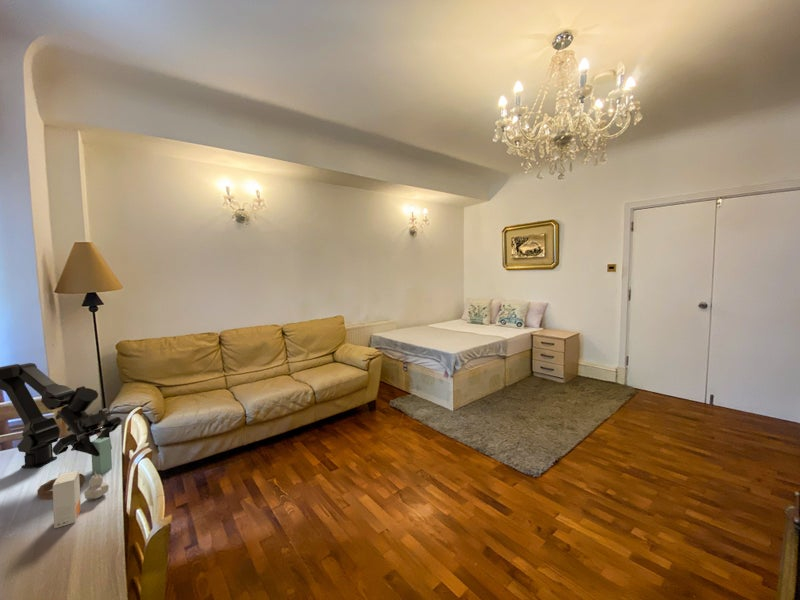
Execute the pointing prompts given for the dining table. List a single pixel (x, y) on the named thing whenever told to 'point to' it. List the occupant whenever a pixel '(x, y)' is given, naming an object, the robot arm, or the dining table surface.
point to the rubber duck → (96, 487)
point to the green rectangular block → (102, 455)
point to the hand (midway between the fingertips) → (104, 452)
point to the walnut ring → (49, 494)
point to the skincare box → (66, 499)
